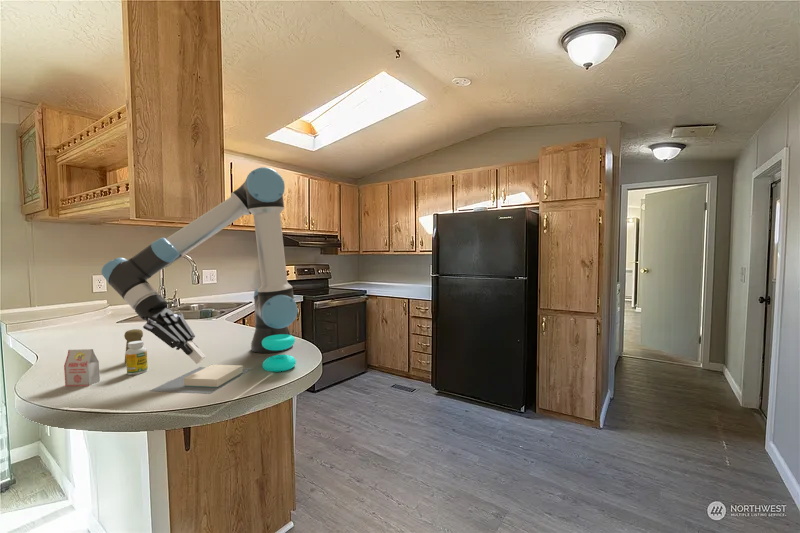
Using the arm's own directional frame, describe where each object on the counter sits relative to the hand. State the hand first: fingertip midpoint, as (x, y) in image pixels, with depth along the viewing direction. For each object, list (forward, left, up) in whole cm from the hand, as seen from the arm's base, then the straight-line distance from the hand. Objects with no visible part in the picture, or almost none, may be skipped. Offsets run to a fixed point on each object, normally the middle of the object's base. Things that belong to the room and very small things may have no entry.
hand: (201, 360), depth 106 cm
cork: (+9, -39, -6) cm, 41 cm away
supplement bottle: (+11, -24, -6) cm, 28 cm away
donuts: (-21, +6, -6) cm, 22 cm away
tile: (0, -1, -4) cm, 5 cm away
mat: (-1, 0, -6) cm, 6 cm away
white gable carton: (+24, -24, -6) cm, 35 cm away
